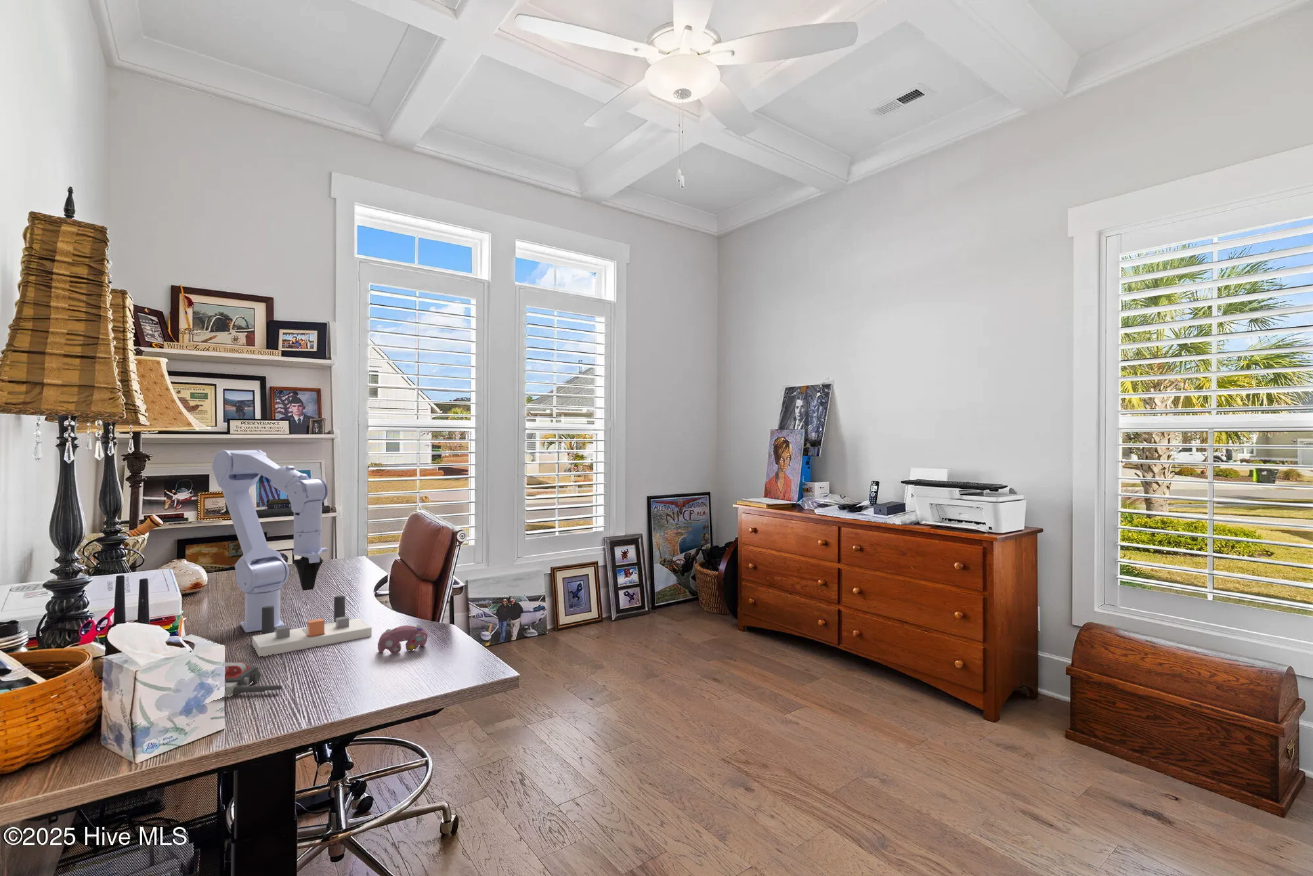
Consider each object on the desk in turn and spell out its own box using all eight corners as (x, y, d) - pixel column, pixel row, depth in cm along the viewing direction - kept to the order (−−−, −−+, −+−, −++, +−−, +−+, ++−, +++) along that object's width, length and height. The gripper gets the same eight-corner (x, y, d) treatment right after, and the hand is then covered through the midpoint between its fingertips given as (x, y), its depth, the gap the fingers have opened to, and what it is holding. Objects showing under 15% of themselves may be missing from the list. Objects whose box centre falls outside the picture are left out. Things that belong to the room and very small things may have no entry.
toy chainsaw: (156, 703, 109) (278, 698, 111) (156, 677, 109) (278, 672, 111) (189, 683, 117) (301, 679, 120) (189, 659, 117) (301, 655, 120)
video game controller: (378, 663, 131) (379, 637, 128) (376, 648, 135) (377, 622, 132) (428, 656, 136) (430, 630, 133) (425, 641, 139) (427, 616, 137)
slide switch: (307, 634, 139) (307, 620, 139) (322, 631, 141) (322, 618, 141) (309, 636, 138) (309, 622, 138) (324, 633, 140) (324, 620, 140)
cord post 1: (260, 637, 144) (261, 606, 144) (273, 635, 145) (273, 605, 145) (262, 640, 142) (262, 609, 142) (274, 638, 143) (275, 607, 143)
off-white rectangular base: (252, 645, 138) (252, 627, 138) (359, 626, 152) (359, 609, 152) (259, 657, 130) (259, 637, 131) (371, 636, 145) (371, 618, 145)
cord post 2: (332, 625, 153) (333, 596, 153) (343, 623, 155) (343, 595, 155) (335, 627, 151) (335, 598, 151) (346, 625, 153) (346, 596, 153)
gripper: (334, 532, 143) (334, 592, 143) (319, 526, 154) (319, 581, 154) (299, 535, 139) (299, 597, 139) (287, 528, 150) (286, 585, 150)
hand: (307, 589), depth 146 cm, fingers closed
